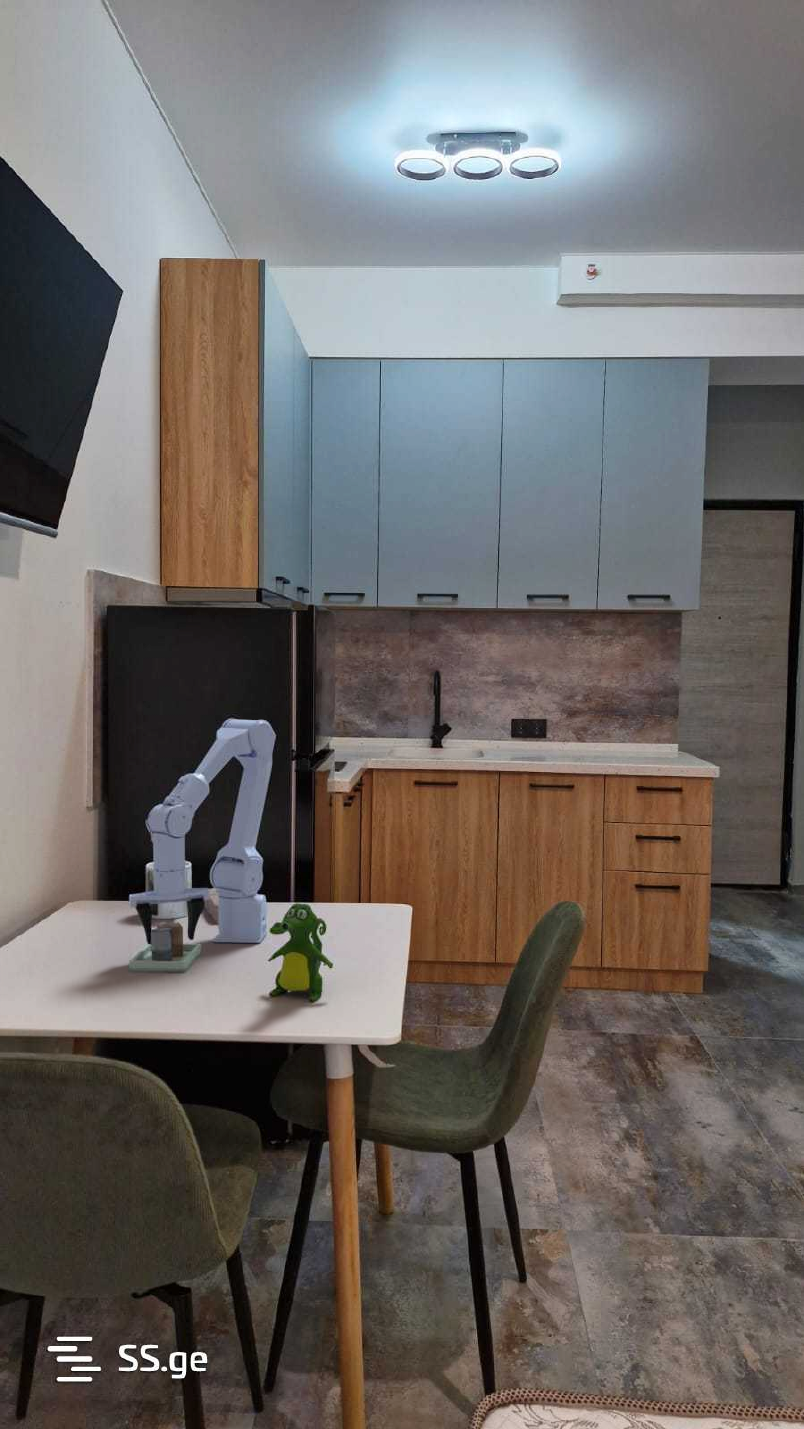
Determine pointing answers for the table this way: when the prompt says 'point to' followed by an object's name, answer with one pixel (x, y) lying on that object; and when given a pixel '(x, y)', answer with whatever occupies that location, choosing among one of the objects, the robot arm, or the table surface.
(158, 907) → the mug
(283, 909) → the table surface
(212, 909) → the brick
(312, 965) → the toy
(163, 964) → the tray
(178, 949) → the block
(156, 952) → the peg
